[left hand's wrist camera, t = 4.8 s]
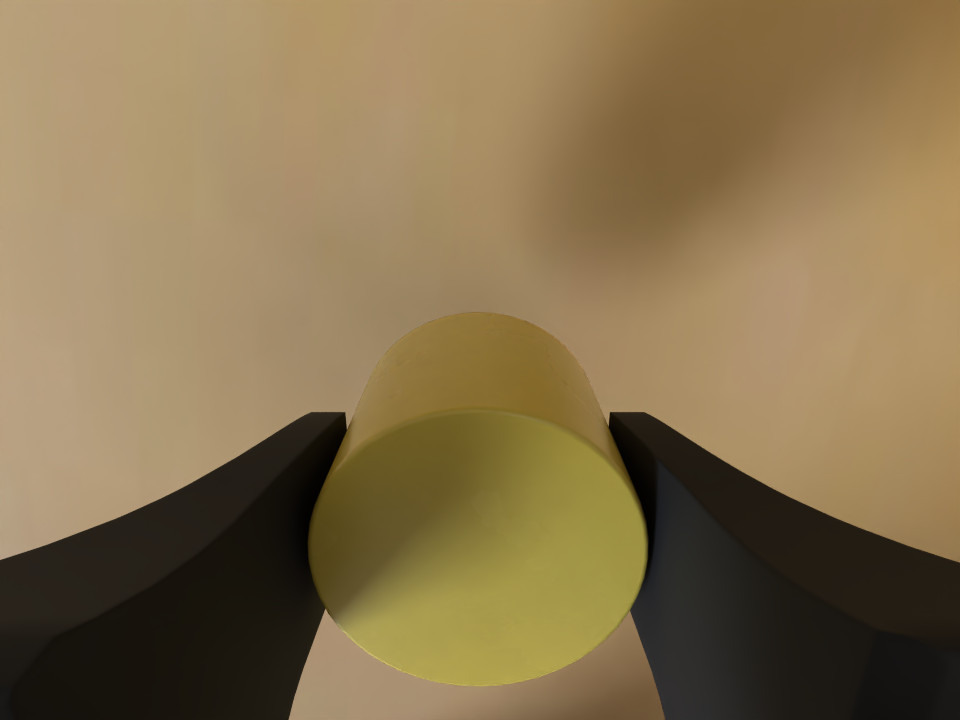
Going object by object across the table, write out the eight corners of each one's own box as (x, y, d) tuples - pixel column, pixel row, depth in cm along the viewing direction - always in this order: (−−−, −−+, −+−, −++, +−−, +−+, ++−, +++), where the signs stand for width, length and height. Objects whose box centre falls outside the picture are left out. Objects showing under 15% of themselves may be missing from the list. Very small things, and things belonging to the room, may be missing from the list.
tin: (407, 273, 11) (368, 354, 7) (636, 363, 12) (714, 481, 8) (332, 478, 13) (266, 636, 9) (538, 547, 13) (561, 722, 9)
